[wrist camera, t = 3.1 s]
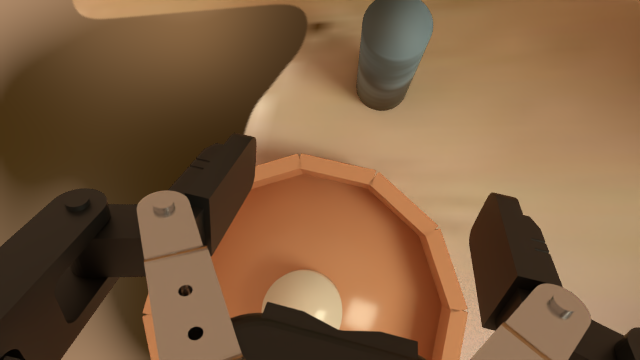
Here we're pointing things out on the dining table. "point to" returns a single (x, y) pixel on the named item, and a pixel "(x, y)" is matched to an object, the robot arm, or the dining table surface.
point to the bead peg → (391, 50)
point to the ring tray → (339, 256)
